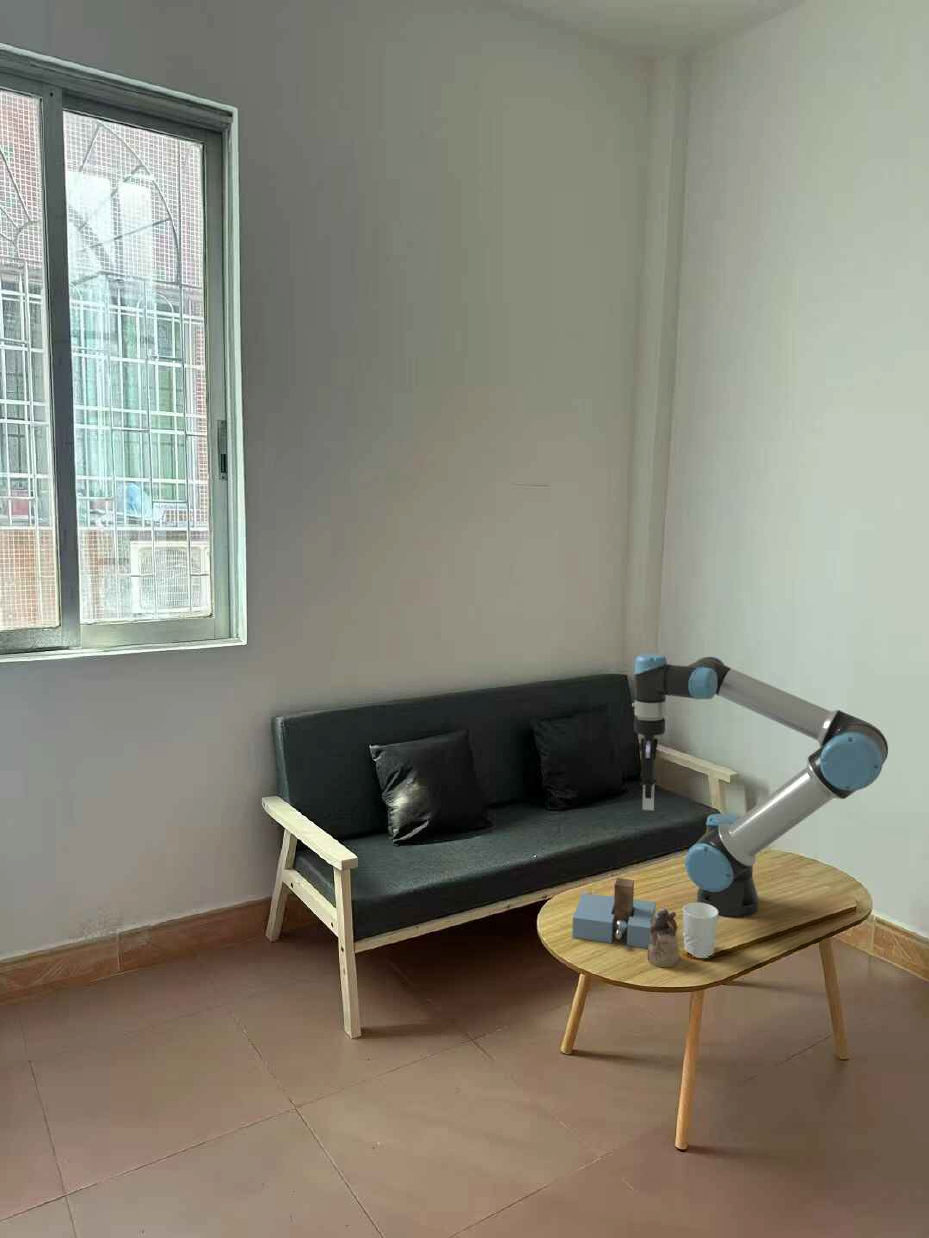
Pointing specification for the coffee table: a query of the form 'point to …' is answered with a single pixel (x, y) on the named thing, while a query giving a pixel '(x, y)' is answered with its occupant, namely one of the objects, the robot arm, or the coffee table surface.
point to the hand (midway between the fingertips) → (648, 808)
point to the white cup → (699, 929)
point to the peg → (623, 900)
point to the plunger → (620, 928)
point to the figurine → (663, 940)
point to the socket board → (611, 920)
